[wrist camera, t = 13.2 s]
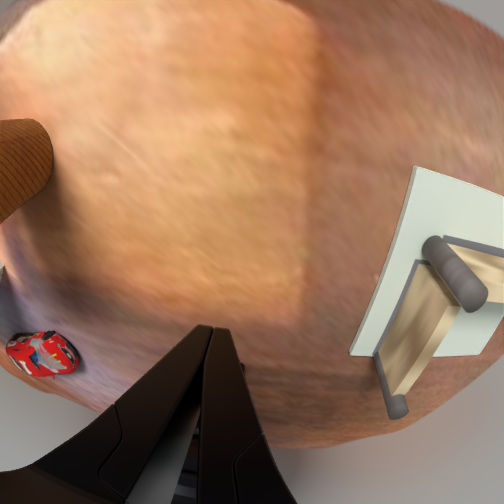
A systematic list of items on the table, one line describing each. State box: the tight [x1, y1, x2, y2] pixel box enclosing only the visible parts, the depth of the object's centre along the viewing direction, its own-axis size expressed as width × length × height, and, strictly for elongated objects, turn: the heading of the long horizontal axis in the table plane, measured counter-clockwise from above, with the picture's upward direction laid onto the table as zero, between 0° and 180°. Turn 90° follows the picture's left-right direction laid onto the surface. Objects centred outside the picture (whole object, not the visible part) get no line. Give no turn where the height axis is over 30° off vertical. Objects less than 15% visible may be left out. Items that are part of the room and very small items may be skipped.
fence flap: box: [422, 235, 504, 313], centre depth 15 cm, size 13×2×6 cm, turn 82°
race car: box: [6, 330, 79, 379], centre depth 27 cm, size 13×5×4 cm, turn 105°
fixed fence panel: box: [373, 264, 461, 420], centre depth 19 cm, size 10×2×7 cm, turn 173°
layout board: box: [349, 165, 504, 357], centre depth 20 cm, size 16×16×1 cm
